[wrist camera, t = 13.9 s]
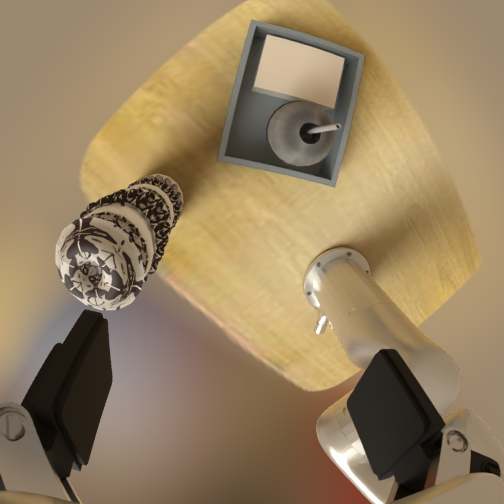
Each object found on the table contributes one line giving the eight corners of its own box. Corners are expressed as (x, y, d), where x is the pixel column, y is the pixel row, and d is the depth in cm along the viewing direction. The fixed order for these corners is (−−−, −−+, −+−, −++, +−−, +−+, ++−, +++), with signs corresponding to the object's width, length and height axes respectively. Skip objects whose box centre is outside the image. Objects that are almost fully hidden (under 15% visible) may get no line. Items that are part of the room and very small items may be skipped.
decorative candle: (119, 214, 42) (34, 294, 19) (143, 160, 40) (55, 195, 17) (169, 239, 45) (124, 343, 22) (196, 188, 42) (165, 253, 19)
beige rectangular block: (324, 110, 38) (333, 108, 35) (251, 91, 36) (253, 86, 33) (334, 64, 35) (344, 58, 32) (263, 43, 34) (267, 34, 30)
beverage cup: (246, 125, 38) (262, 113, 20) (290, 102, 37) (341, 75, 19) (272, 168, 41) (308, 194, 23) (314, 145, 40) (380, 153, 22)
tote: (321, 180, 43) (334, 187, 38) (217, 157, 41) (216, 160, 35) (348, 63, 36) (365, 55, 31) (247, 33, 34) (251, 19, 28)
